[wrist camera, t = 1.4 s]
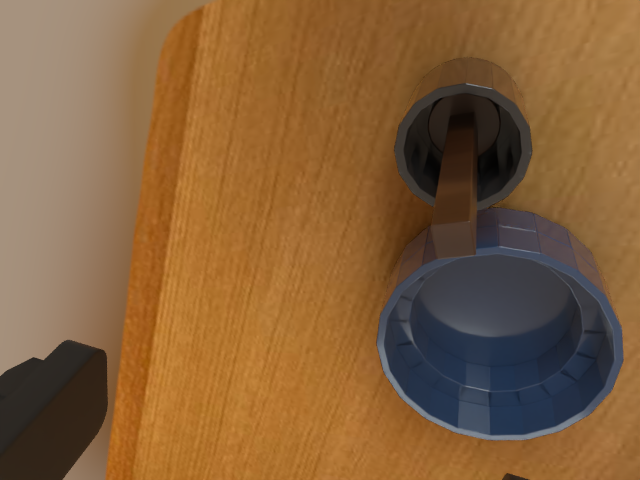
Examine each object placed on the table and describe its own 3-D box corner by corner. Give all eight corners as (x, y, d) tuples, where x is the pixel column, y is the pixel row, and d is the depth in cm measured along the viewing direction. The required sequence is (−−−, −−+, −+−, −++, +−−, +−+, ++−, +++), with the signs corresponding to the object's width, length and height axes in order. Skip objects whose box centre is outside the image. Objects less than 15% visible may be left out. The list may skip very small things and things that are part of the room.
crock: (399, 70, 36) (383, 98, 29) (516, 46, 33) (524, 71, 27) (419, 173, 38) (407, 219, 32) (528, 157, 36) (538, 202, 30)
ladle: (425, 89, 35) (386, 197, 21) (495, 75, 34) (505, 180, 20) (436, 153, 37) (407, 294, 22) (503, 143, 36) (518, 284, 21)
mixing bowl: (371, 219, 40) (355, 261, 35) (597, 189, 36) (617, 233, 31) (409, 384, 46) (400, 441, 41) (609, 375, 41) (627, 439, 36)
